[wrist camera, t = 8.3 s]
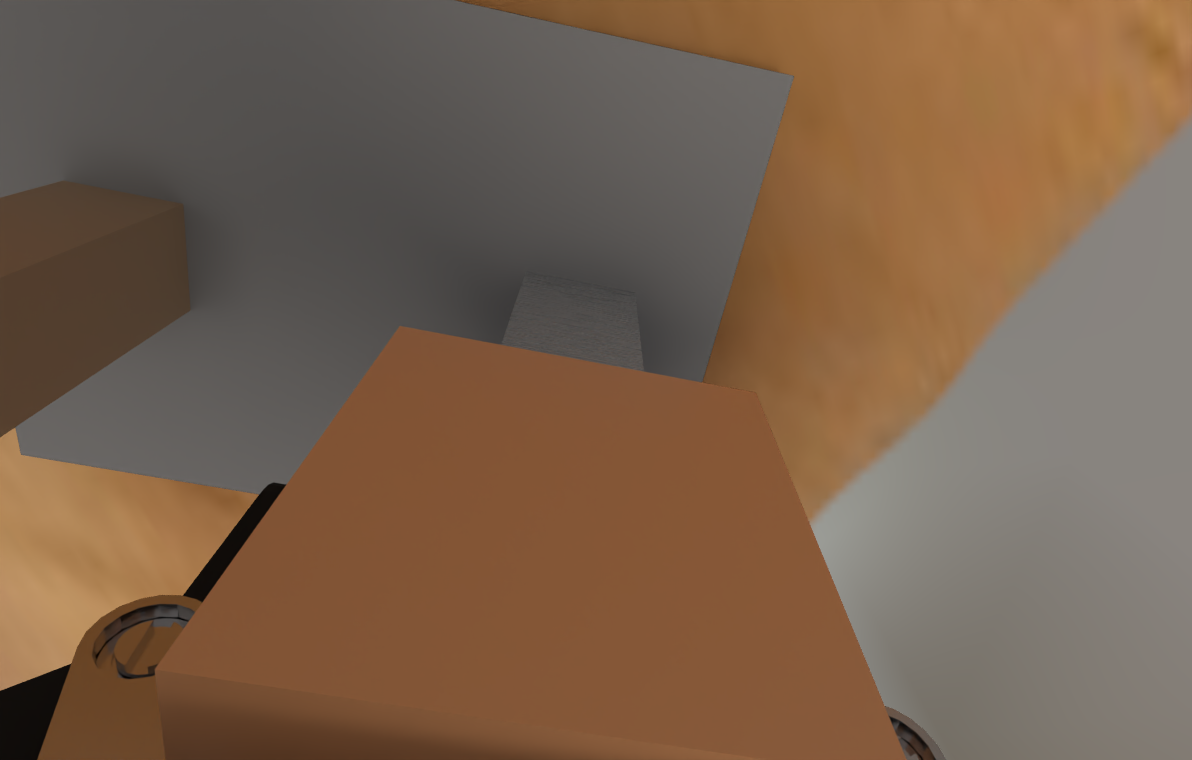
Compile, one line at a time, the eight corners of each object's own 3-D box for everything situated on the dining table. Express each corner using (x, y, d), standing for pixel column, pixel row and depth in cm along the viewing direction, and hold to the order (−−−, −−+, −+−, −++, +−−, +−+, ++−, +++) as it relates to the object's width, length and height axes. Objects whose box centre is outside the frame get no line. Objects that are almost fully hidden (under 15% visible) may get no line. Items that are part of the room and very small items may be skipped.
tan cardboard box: (399, 325, 11) (153, 670, 5) (755, 392, 11) (915, 781, 5) (378, 598, 13) (199, 1038, 8) (669, 644, 14) (715, 1095, 8)
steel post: (526, 271, 19) (485, 390, 12) (635, 292, 19) (648, 420, 13) (510, 369, 20) (466, 522, 14) (612, 388, 20) (614, 546, 14)
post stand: (-39, -110, 16) (-602, -234, 9) (779, 73, 18) (908, 102, 10) (55, 430, 23) (-219, 626, 15) (646, 530, 24) (664, 755, 17)
